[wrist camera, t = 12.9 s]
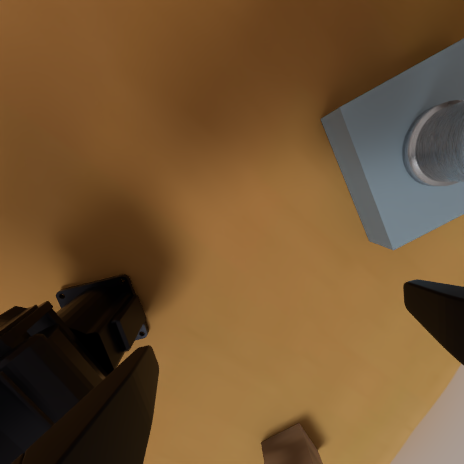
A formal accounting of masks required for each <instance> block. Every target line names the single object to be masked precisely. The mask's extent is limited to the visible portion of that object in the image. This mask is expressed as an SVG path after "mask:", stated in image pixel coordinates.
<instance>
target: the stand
mask: <svg viewBox="0 0 464 464" xmlns="http://www.w3.org/2000/svg"><path fill="white" fill-rule="evenodd" d="M452 100H464V39H462V40H460V41H458V42H457V43H455V44H453V45H451V46H449V47H447V48H446V49H444V50H442V51H440V52H438V53H437V54H435V55H433V56H431V57H429V58H428V59H426V60H424V61H422V62H420V63H419V64H417V65H415V66H413V67H411V68H410V69H408V70H406V71H404V72H402V73H401V74H399V75H397V76H395V77H393V78H391V79H390V80H388V81H386V82H384V83H382V84H381V85H379V86H377V87H375V88H373V89H372V90H370V91H368V92H366V93H364V94H363V95H361V96H359V97H357V98H355V99H354V100H352V101H350V102H348V103H346V104H345V105H343V106H341V107H339V108H338V109H336V110H334V111H333V112H331V113H329V114H328V115H326V116H325V117H323V118H321V122H322V124H323V127H324V129H325V132H326V134H327V137H328V139H329V142H330V144H331V147H332V149H333V152H334V154H335V157H336V159H337V162H338V164H339V167H340V169H341V172H342V174H343V177H344V179H345V182H346V184H347V187H348V189H349V192H350V194H351V197H352V199H353V202H354V204H355V207H356V209H357V212H358V214H359V217H360V219H361V222H362V224H363V227H364V229H365V232H366V234H367V237H368V239H369V241H371V242H373V243H376V244H378V245H381V246H384V247H386V248H389V249H392V250H395V249H397V248H399V247H401V246H403V245H404V244H406V243H408V242H410V241H412V240H414V239H416V238H418V237H420V236H422V235H424V234H426V233H428V232H430V231H432V230H434V229H436V228H438V227H440V226H441V225H443V224H445V223H447V222H449V221H451V220H453V219H455V218H457V217H459V216H461V215H463V214H464V182H458V183H456V184H453V185H449V186H427V185H423V184H420V183H418V182H416V181H415V180H414V179H412V178H411V176H410V175H409V174H408V172H407V171H406V169H405V166H404V163H403V158H402V148H403V142H404V139H405V136H406V133H407V131H408V129H409V128H410V126H411V124H412V123H413V122H414V120H415V119H416V118H417V117H418V116H419V115H420V114H422V113H423V112H424V111H426V110H427V109H429V108H431V107H434V106H436V105H439V104H442V103H445V102H448V101H452Z"/></svg>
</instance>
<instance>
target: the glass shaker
mask: <svg viewBox="0 0 464 464" xmlns="http://www.w3.org/2000/svg"><path fill="white" fill-rule="evenodd" d="M402 158H403V163H404V166H405V169H406V171H407V172H408V174H409V175H410V176H411V178H412V179H414V180H415V181H416V182H418V183H420V184H423V185H427V186H449V185H453V184H456V183H458V182H464V100H452V101H448V102H445V103H442V104H439V105H436V106H434V107H431V108H429V109H427V110H426V111H424V112H423V113H422V114H420V115H419V116H418V117H417V118H416V119H415V120H414V122H413V123H412V124H411V126H410V128H409V129H408V131H407V133H406V136H405V139H404V142H403V148H402Z"/></svg>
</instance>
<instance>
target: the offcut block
mask: <svg viewBox="0 0 464 464" xmlns="http://www.w3.org/2000/svg"><path fill="white" fill-rule="evenodd" d="M261 445H262V451H263V457H264V463H265V464H323V463H322V461H321V458H320V455H319V453H318V450H317V449H316V447H315V446H314V444H313V443H312V441H311V440H310V438H309V437H308V435H307V434H306V432H305V431H304V429H303V428H302V426H301V425H300V423H298V424H296V425H294V426H292V427H290V428H288V429H286V430H284V431H282V432H280V433H278V434H277V435H275V436H273V437H271V438H269V439H267V440H265V441H263V442H261Z"/></svg>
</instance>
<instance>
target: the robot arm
mask: <svg viewBox="0 0 464 464" xmlns="http://www.w3.org/2000/svg"><path fill="white" fill-rule="evenodd" d="M121 279H124V280H125V282H122V280H121ZM403 289H404V303H405V306H406V308H407V310H408V311H409V312H410V313H411V314H412V315H413V316H414V317H415V318H416V319H417V320H418V321H419V323H420V324H421V325H422V326H423V327H424V328H425V329H426V330H427V331H428V332H429V333H430V334H431V335H432V336H433V337H434V338H435V339H436V340H437V341H438V342H439V343H440V344H441V345H442V346H443V347H444V348H445V349H446V350H447V351H448V352H449V353H450V354H451V355H452V356H454V357H455V358H456V359H457V360H458V361H459V362H460V363H462V364H463V365H464V287H461V286H455V285H449V284H443V283H436V282H430V281H424V280H412V281H408V282H406V283H404V286H403ZM62 294H64V295H65V297H64V296H63V295H62ZM56 298H57V300H58V302H59V304H60V307H61V309H60V310H59V311H58V312H57V313H56V312H55V311H54V310H53V309H52V308H53V306H52V305H51V303H50V302H49V301H46V302H44V303H43V304H41V305H39V306H37V305H34V306H32V307H30V308H23V307H18V306H15V307H13V308H11V309H9V310H8V311H6V312H4V313H3V314H1V315H0V464H143V461H144V457H145V452H146V448H147V444H148V439H149V435H150V430H151V425H152V420H153V413H154V406H155V398H156V391H157V383H158V375H159V365H158V362H157V359H156V357H155V354H154V351H153V349H152V347H151V346H149V345H148V346H144V347H139V348H137V349H136V350H135V351H134V352H133V353H132V354H131V355H130V356H129V357H127V358H126V359H125V360H124V361H123V362H122V363H121V364H120V365H119V366H118V364H119V362H120V360H121V358H122V356H123V355H124V353H125V352H126V351H129V350H130V348H131V346H132V344H133V343H134V341H135V340H139V339H143V338H145V337H146V336H147V334H148V332H149V331H148V327H147V325H146V322H145V320H146V317H145V314H144V311H143V308H142V305H141V303H140V300H139V297H138V296H137V295H136V294H135V292H134V289H133V286H132V284H131V281H130V278H129V277H128V276H127V275H119V276H115V277H111V278H107V279H103V280H98V281H94V282H90V283H86V284H82V285H78V286H74V287H70V288H66V289H62V290H60V291H59V292H57V294H56ZM141 331H143V332H144V333H141ZM117 366H118V367H117ZM116 367H117V368H116Z"/></svg>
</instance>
